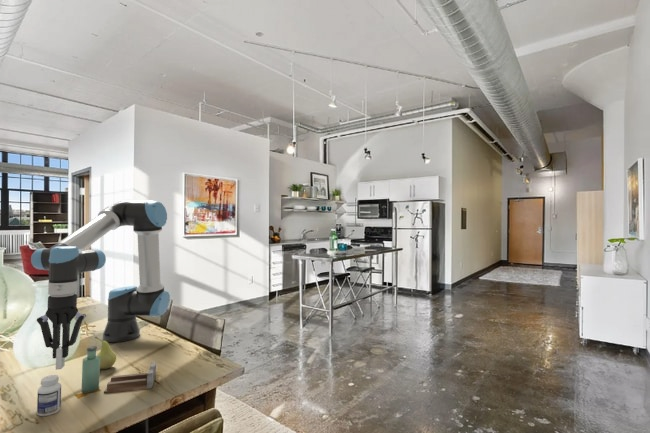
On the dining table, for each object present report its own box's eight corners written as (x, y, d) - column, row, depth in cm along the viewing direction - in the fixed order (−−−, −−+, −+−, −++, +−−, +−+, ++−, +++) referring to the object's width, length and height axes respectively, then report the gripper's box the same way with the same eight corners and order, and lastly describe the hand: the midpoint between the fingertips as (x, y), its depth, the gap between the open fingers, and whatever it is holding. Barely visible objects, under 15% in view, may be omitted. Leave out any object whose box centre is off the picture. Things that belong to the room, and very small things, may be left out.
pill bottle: (45, 406, 103) (46, 373, 103) (64, 406, 104) (66, 373, 104) (32, 417, 98) (33, 382, 98) (52, 416, 98) (53, 382, 98)
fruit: (111, 372, 127) (112, 339, 127) (88, 372, 126) (89, 339, 126) (119, 364, 133) (120, 333, 133) (97, 365, 132) (99, 333, 132)
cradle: (111, 380, 120) (111, 366, 120) (155, 376, 125) (156, 362, 125) (103, 393, 112) (104, 377, 112) (151, 388, 116) (152, 373, 116)
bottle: (84, 386, 116) (85, 345, 116) (100, 384, 117) (102, 344, 117) (79, 393, 111) (80, 350, 111) (96, 391, 113) (98, 349, 113)
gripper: (32, 297, 106) (29, 375, 106) (82, 296, 110) (79, 370, 110) (43, 292, 113) (41, 365, 113) (90, 291, 117) (87, 361, 117)
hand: (60, 367), depth 112 cm, fingers closed
